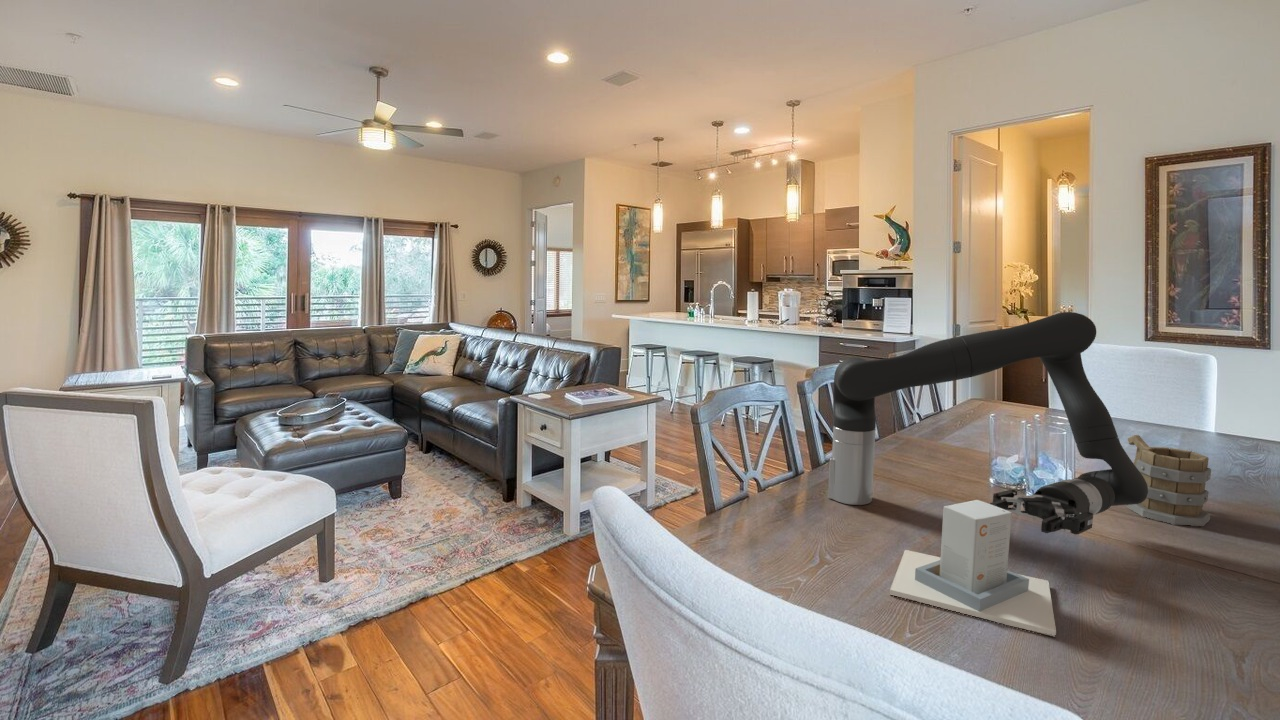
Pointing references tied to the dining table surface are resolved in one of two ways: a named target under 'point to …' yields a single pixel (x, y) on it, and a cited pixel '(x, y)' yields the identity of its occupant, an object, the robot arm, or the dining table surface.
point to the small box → (975, 545)
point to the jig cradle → (1007, 603)
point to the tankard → (1172, 484)
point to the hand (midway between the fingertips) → (1017, 518)
